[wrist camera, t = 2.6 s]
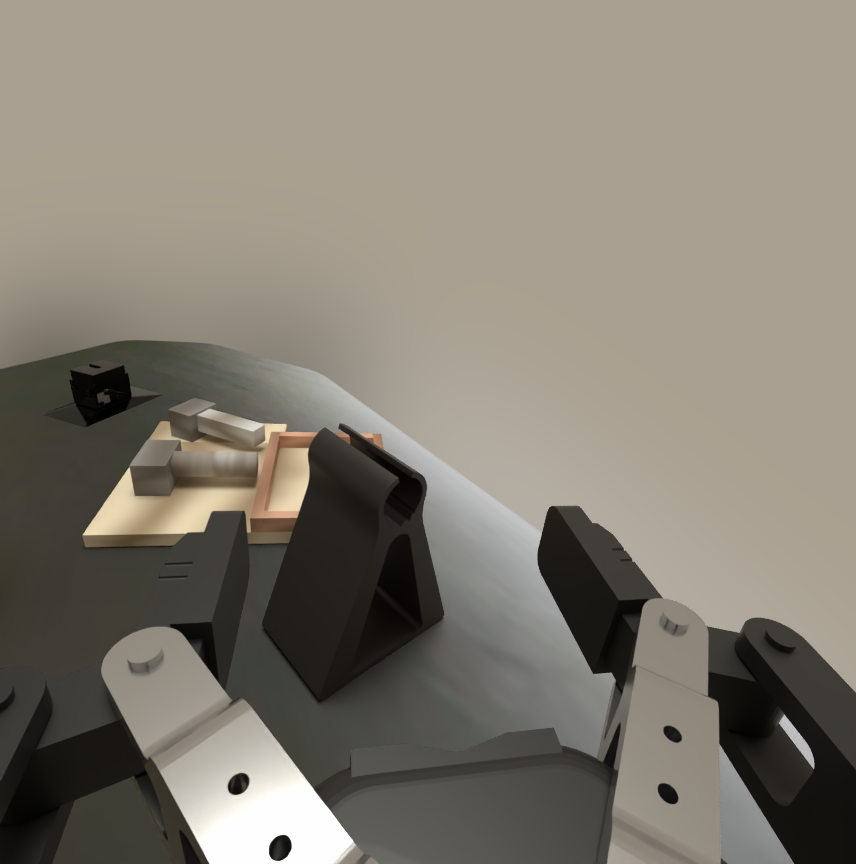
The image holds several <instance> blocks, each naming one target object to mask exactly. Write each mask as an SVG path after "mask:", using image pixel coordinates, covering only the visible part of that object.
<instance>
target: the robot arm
mask: <svg viewBox="0 0 856 864" xmlns="http://www.w3.org/2000/svg"><path fill="white" fill-rule="evenodd" d="M538 566H539V570H540V573H541V575H542V577H543V579H544V581H545V582H546V584H547V586H548V588H549V590H550V592H551V594H552V596H553V598H554V600H555V602H556V603H557V605H558V607H559V609H560V611H561V613H562V615H563V617H564V619H565V621H566V623H567V625H568V626H569V628H570V630H571V632H572V634H573V636H574V638H575V640H576V642H577V644H578V646H579V647H580V649H581V651H582V653H583V655H584V657H585V659H586V661H587V663H588V665H589V667H590V669H591V670H592V672H593V674H599V673H610V672H612V674H613V676H614V678H615V682H614V685H613V687H612V691H611V696H610V700H609V705H608V710H607V714H606V719H605V724H604V728H603V733H602V738H601V742H600V747H599V751H598V755H597V759H596V758H595V757H593V756H591V755H589V754H586V753H584V752H582V751H579V750H577V749H573V748H570V747H566V746H562V745H560V743H559V740H558V738H557V735H556V733H555V730H554V728H546V729H537V730H527V731H518V732H509V733H505V734H502V735H500V736H498V737H495V738H493V739H490V740H488V741H486V742H483V743H481V744H478V745H476V746H474V747H471V748H469V749H466V750H464V751H460V752H453V751H447V750H441V749H434V748H428V747H421V746H415V745H409V744H396V745H387V746H378V747H368V748H359V749H351V756H350V768H348V769H345V770H343V771H341V772H338V773H337V774H335V775H333V776H331V777H329V778H328V779H326V780H325V781H323V782H322V783H320V784H319V785H318V786H316V787H315V788H314V789H313V788H312V787H311V785H310V784H309V783H308V781H307V780H306V779H305V777H304V776H303V775H302V773H301V772H300V771H299V770H298V768H297V767H296V766H295V764H294V763H293V762H292V760H291V759H290V758H289V756H288V755H287V754H286V752H285V751H284V750H283V748H282V747H281V746H280V744H279V743H278V742H277V741H276V739H275V738H274V737H273V735H272V734H271V733H270V731H269V730H268V729H267V727H266V726H265V725H264V723H263V722H262V721H261V719H260V718H259V717H258V715H257V714H256V713H255V712H254V710H253V709H252V708H251V706H250V705H249V704H248V703H247V702H246V701H245V700H244V699H242V698H237V699H236V700H234V701H232V700H231V699H230V698H229V697H228V695H227V694H226V693H225V689H226V684H227V679H228V675H229V670H230V665H231V661H232V656H233V651H234V647H235V642H236V637H237V633H238V628H239V623H240V618H241V614H242V609H243V604H244V600H245V595H246V590H247V586H248V579H249V550H248V537H247V524H246V514H245V511H212V512H211V514H210V517H209V520H208V522H207V525H206V528H205V531H204V532H188V533H186V534H185V535H184V536H183V537H182V538H181V539H180V540H179V541H178V542H177V543H176V544H175V545H173V546H172V548H171V550H170V553H169V555H168V557H167V559H166V562H165V566H163V568H162V571H161V573H160V575H159V580H157V582H156V584H155V587H154V589H153V591H152V593H151V596H150V598H149V600H148V603H147V605H146V607H145V609H144V612H143V614H142V616H141V618H140V621H139V623H138V625H137V627H136V630H135V632H134V633H132V634H130V635H128V636H127V637H125V638H123V639H122V640H121V641H119V642H118V643H117V644H116V645H115V646H113V647H112V649H111V650H110V651H109V652H108V653H107V655H106V657H105V658H104V661H102V662H100V663H98V664H96V665H94V666H91V667H88V668H85V669H82V670H79V671H76V672H73V673H69V674H66V675H63V676H60V677H56V678H53V679H50V680H47V681H45V678H44V676H43V674H42V673H41V672H40V671H39V670H37V669H35V668H32V667H28V666H12V667H6V668H2V669H0V864H52V862H53V859H54V856H55V854H56V851H57V848H58V845H59V842H60V840H61V837H62V834H63V831H64V828H65V826H66V823H67V820H68V817H69V814H70V812H71V809H72V806H73V803H74V800H76V799H78V798H81V797H83V796H86V795H88V794H91V793H93V792H96V791H98V790H100V789H103V788H105V787H108V786H110V785H113V784H115V783H118V782H120V781H122V780H125V779H127V778H130V777H131V779H132V781H133V783H134V785H135V787H136V789H137V791H138V793H139V795H140V797H141V799H142V801H143V803H144V805H145V807H146V809H147V811H148V813H149V815H150V817H151V819H152V821H153V823H154V825H155V827H156V829H157V831H158V833H159V835H160V837H161V839H162V841H163V843H164V845H165V847H166V850H167V852H168V854H169V856H170V858H171V861H172V863H173V864H727V863H726V862H725V861H724V860H723V859H721V847H720V767H719V744H720V745H721V747H722V749H723V750H724V752H725V753H726V755H727V757H728V758H729V760H730V761H731V763H732V765H733V766H734V768H735V769H736V771H737V773H738V774H739V776H740V777H741V779H742V781H743V782H744V784H745V785H746V787H747V789H748V790H749V792H750V793H751V795H752V797H753V798H754V800H755V801H756V803H757V805H758V806H759V808H760V809H761V811H762V813H763V814H764V816H765V817H766V819H767V821H768V822H769V824H770V825H771V827H772V829H773V830H774V832H775V834H776V835H777V837H778V838H779V840H780V842H781V843H782V845H783V846H784V848H785V850H786V851H787V853H788V854H789V856H790V858H791V859H792V861H793V862H794V864H856V693H855V691H853V689H852V688H851V687H850V686H849V685H848V684H847V683H846V682H845V681H844V680H843V679H842V678H841V677H840V676H839V675H838V674H837V672H836V671H835V670H833V668H832V667H831V666H830V665H829V664H828V663H827V662H826V661H825V660H824V659H823V658H822V657H821V656H820V655H819V654H818V653H817V651H816V650H815V649H814V648H813V647H812V646H811V645H810V644H809V643H808V642H807V641H806V640H805V639H804V638H803V637H802V636H800V635H799V634H798V633H796V632H795V631H793V630H792V629H790V628H788V627H787V626H785V625H783V624H781V623H778V622H776V621H773V620H769V619H765V618H751V619H749V620H747V621H746V622H745V624H744V625H743V627H742V629H741V631H740V633H737V632H732V631H726V630H721V629H717V628H712V627H707V626H706V625H705V623H704V621H703V620H702V619H701V618H700V617H699V616H698V615H697V614H696V613H695V612H694V611H692V610H691V609H689V608H688V607H686V606H684V605H683V604H680V603H678V602H676V601H673V600H668V599H663V598H662V597H661V595H660V594H659V593H658V591H657V590H656V589H655V588H654V586H653V585H652V584H651V582H650V581H649V580H648V579H647V578H646V576H645V575H644V574H643V572H642V571H641V570H640V569H639V567H638V566H637V565H636V563H635V562H632V558H631V557H630V556H629V554H628V553H627V552H626V551H624V549H623V547H622V545H621V544H620V543H619V542H618V540H617V539H616V538H615V536H614V535H613V534H611V533H610V532H609V531H607V530H606V529H604V528H603V527H602V526H600V525H599V524H597V523H592V522H591V521H590V520H589V518H588V517H587V515H586V514H585V513H584V511H583V510H582V509H581V508H580V507H579V506H551V507H550V508H549V509H548V512H547V515H546V519H545V523H544V528H543V532H542V536H541V540H540V544H539V548H538ZM784 714H785V715H786V717H787V718H788V719H789V721H790V722H791V723H792V724H793V726H794V727H795V728H796V730H797V731H798V732H799V733H800V735H801V736H802V737H803V738H804V740H805V741H806V742H807V744H808V745H809V747H810V749H811V751H812V754H813V757H814V763H815V766H814V769H813V768H812V767H811V765H810V764H809V763H808V761H807V760H806V759H805V757H804V756H803V755H802V753H801V752H800V751H799V749H798V748H797V747H796V745H795V744H794V743H793V741H792V740H791V739H790V738H789V736H788V735H787V734H786V732H785V731H784V730H783V728H782V727H781V726H780V724H779V722H780V720H781V719H782V717H783V715H784Z"/></svg>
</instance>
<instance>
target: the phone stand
mask: <svg viewBox="0 0 856 864" xmlns="http://www.w3.org/2000/svg"><path fill="white" fill-rule="evenodd" d="M339 429H340V430H342V431H343V432H345V433H346V434H348V435H349V437H350V444H349V443H347V442H346V441H344V440H343V439H341V438H340V437H338V436H337V435H336V434H334V433H333V432H331V431H330V430H328V429H327V428H323V429H322V430H321V431H320V432H319V433H318V434H317V435H316V436H315V437H314V439H313V440H312V442H311V444H310V447H309V450H308V463H309V482H308V486H307V490H306V493H305V496H304V499H303V502H302V505H301V508H300V511H299V514H298V517H297V520H296V523H295V526H294V529H293V532H292V535H291V538H290V541H289V544H288V547H287V550H286V553H285V556H284V559H283V562H282V565H281V568H280V571H279V574H278V577H277V580H276V583H275V586H274V589H273V592H272V595H271V598H270V601H269V604H268V607H267V610H266V613H265V616H264V619H263V622H262V626H263V627H264V628H265V630H266V631H267V632H268V634H269V635H270V636H271V637H272V639H273V640H274V641H275V643H276V644H277V645H278V647H279V648H280V649H281V651H282V652H283V653H284V655H285V656H286V657H287V658H288V660H289V661H290V662H291V664H292V665H293V666H294V668H295V669H296V670H297V672H298V673H299V674H300V675H301V677H302V678H303V679H304V681H305V682H306V683H307V685H308V686H309V687H310V689H311V690H312V691H313V693H314V694H315V695H316V696H317V698H318V699H319V700H320V701H322V700H324V699H326V698H327V697H329V696H330V695H332V694H333V693H335V692H336V691H338V690H339V689H340V688H342V687H343V686H345V685H346V684H348V683H349V682H351V681H352V680H354V679H355V678H357V677H358V676H359V675H361V674H362V673H364V672H365V671H367V670H368V669H370V668H371V667H373V666H374V665H376V664H377V663H379V662H380V661H381V660H383V659H384V658H385V657H386V655H387V654H392V653H393V652H395V651H396V650H398V649H399V648H401V647H402V646H403V645H405V644H406V643H408V642H409V641H411V640H412V639H414V638H415V637H417V636H418V635H420V634H421V633H422V632H424V631H425V630H427V629H428V628H430V627H431V626H433V625H434V624H436V623H437V622H439V621H440V620H441V619H442V618H443V616H444V610H443V606H442V602H441V597H440V593H439V589H438V585H437V580H436V576H435V572H434V568H433V563H432V559H431V555H430V550H429V546H428V542H427V538H426V533H425V529H424V525H423V518H422V513H423V505H424V500H425V496H426V491H427V484H426V480H425V478H424V477H423V475H421V474H420V473H418V472H417V471H415V470H414V469H412V468H411V467H409V466H408V465H406V464H405V463H403V462H402V461H400V460H399V459H397V458H396V457H394V456H392V455H391V454H389V453H388V452H386V451H385V450H383V449H382V448H380V447H379V446H377V445H376V444H374V443H373V442H371V441H370V440H368V439H367V438H365V437H364V436H362V435H360V434H359V433H357V432H356V431H354V430H353V429H351V428H350V427H348V426H347V425H345V424H341V423H340V424H339Z"/></svg>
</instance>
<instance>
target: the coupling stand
mask: <svg viewBox="0 0 856 864" xmlns="http://www.w3.org/2000/svg"><path fill="white" fill-rule="evenodd" d="M168 414H169V422H167V421H161V422H160V424H159V425H158V427H157V428H156V430H155V431H154V432H153V434H152V435H151V437H150V438H149V440H147V441H146V443H145V444H144V445H143V447H142V448H141V450H140V451H139V453H138V454H137V455H136V457H135V458H134V460H133V461H132V463H131V464H130V466H129V469H128V470H127V472H126V473H125V474H124V476H123V477H122V479H121V480H120V482H119V483H118V485H117V486H116V487H115V489H114V490H113V492H112V493H111V495H110V496H109V498H108V499H107V500H106V502H105V503H104V505H103V506H102V508H101V509H100V511H99V512H98V513H97V515H96V516H95V518H94V519H93V521H92V522H91V524H90V525H89V526H88V528H87V529H86V531H85V532H84V534H83V535H82V536H83V540H84V544H85V547H124V546H172V545H175V544H176V543H177V542H178V541H179V540H180V539H181V538H182V537H183V536H184V535H185V534H186V533H188V532H204V531H205V528H206V525H207V522H208V520H209V517H210V514H211V512H212V511H245V514H246V524H247V537H248V544H267V543H289V541H290V538H291V535H292V532H293V529H294V526H295V523H296V520H297V517H298V514H299V511H300V508H301V505H302V502H303V499H304V496H305V493H306V490H307V486H308V482H309V463H308V450H309V447H310V444H311V442H312V440H313V439H314V437H315V436H316V435H317V434H318V433H313V432H287V424H261V423H257V422H254V421H250V420H247V419H243V418H240V417H236V416H233V415H229V414H226V413H223V412H219V411H216V404H215V403H211V402H208V401H204V400H201V399H197V398H193V399H191V400H189V401H187V402H184V403H182V404H180V405H177V406H175V407H173V408H171V409H168ZM334 434H336V435H337V436H338V437H340V438H341V439H343V440H344V441H346V442H347V443H349V444H350V437H349V435H348V434H346V433H334ZM359 434H360V435H362V436H364V437H365V438H367V439H368V440H370V441H371V442H373V443H374V444H376V445H377V446H379V447H380V448H382V449H383V450H384V448H383V443H382V437H381V434H362V433H359Z"/></svg>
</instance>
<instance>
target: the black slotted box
mask: <svg viewBox="0 0 856 864" xmlns="http://www.w3.org/2000/svg"><path fill="white" fill-rule="evenodd" d="M89 365H90V367H88V366H80V367H77V368H74V369H71V370H70V371H71V376H72V379H70V385H71V389H72V393H73V398H74V402H73V403H70V404H68V405H65V406H63V407H60V408H57V409H55V410H52V411H49V412H47V413H44V414H43V415H45V416H49V417H52V418H55V419H59V420H62V421H65V422H69V423H72V424H75V425H79V426H82V427H87V426H90V425H92V424H94V423H97V422H99V421H102V420H104V419H106V418H109V417H111V416H113V415H116V414H118V413H121V412H123V411H125V410H128V409H130V408H132V407H135V406H137V405H140V404H142V403H144V402H147V401H149V400H151V399H154V398H156V397H159V396H161V395H162V394H160V393H156V392H152V391H148V390H144V389H140V388H136V387H132V386H130V382H129V376H128V373H127V372H125V368H124V365H121V364H117V363H113V362H109V361H105V360H100V361H96V362H93V363H90V364H89ZM105 389H108V390H105Z"/></svg>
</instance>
